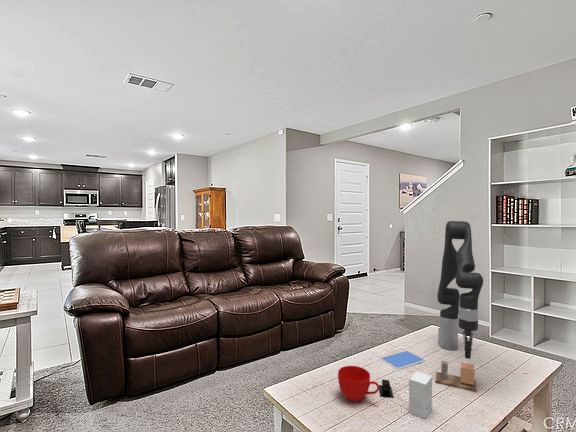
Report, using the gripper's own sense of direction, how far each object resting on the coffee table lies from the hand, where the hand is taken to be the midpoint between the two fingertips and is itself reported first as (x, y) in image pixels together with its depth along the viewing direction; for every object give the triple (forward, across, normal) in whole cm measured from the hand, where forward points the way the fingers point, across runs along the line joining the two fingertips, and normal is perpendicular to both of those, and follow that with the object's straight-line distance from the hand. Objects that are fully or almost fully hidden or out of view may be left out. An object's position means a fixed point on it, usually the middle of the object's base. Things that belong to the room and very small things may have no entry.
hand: (467, 354), depth 144 cm
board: (+14, 0, -4) cm, 14 cm away
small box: (+14, +29, -16) cm, 36 cm away
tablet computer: (+15, -11, -29) cm, 34 cm away
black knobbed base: (+14, +22, -31) cm, 40 cm away
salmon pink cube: (+12, 0, 0) cm, 12 cm away
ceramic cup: (+14, +33, -40) cm, 53 cm away
